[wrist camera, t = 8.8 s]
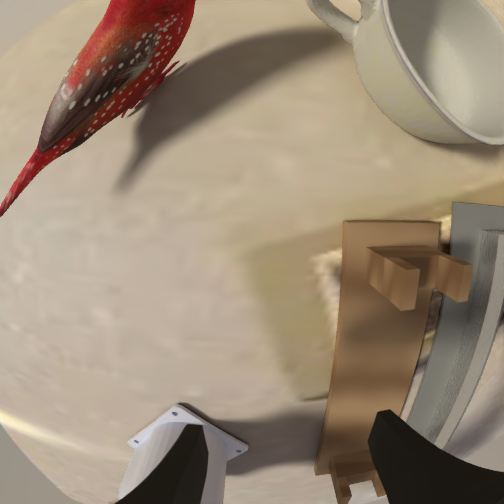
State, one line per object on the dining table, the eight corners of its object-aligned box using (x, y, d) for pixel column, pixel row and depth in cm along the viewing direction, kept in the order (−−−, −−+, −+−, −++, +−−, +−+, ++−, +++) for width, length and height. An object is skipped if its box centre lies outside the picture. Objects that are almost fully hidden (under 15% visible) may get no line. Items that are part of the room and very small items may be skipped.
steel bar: (434, 439, 22) (441, 450, 20) (419, 444, 22) (426, 456, 20) (496, 230, 17) (513, 234, 15) (481, 229, 17) (498, 234, 15)
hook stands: (375, 457, 22) (392, 497, 16) (314, 468, 22) (322, 514, 16) (431, 221, 17) (489, 236, 11) (342, 220, 17) (386, 237, 11)
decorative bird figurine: (242, 38, 15) (233, -68, 5) (64, 222, 17) (-42, 252, 7) (213, 17, 14) (187, -83, 4) (44, 196, 17) (-59, 211, 7)
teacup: (471, 79, 14) (533, 56, 7) (439, 183, 17) (520, 188, 9) (327, -17, 13) (354, -82, 5) (266, 75, 15) (274, 3, 7)
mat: (448, 439, 23) (449, 440, 22) (388, 460, 23) (389, 461, 22) (514, 208, 17) (516, 208, 16) (452, 201, 17) (454, 202, 16)
